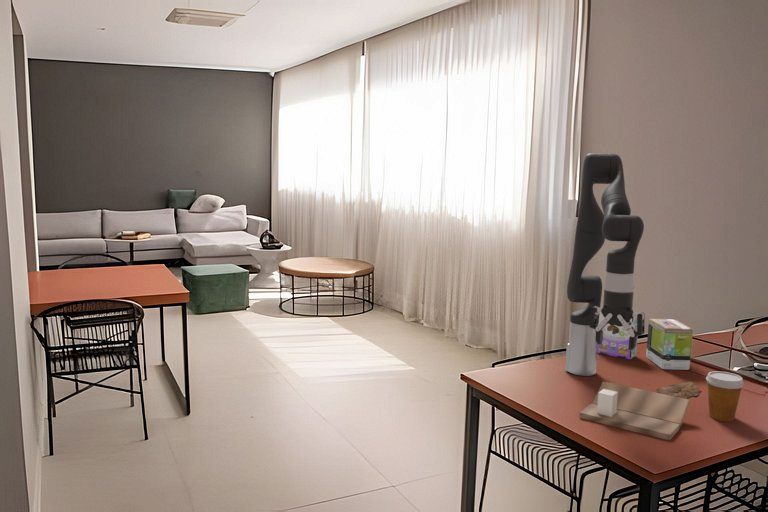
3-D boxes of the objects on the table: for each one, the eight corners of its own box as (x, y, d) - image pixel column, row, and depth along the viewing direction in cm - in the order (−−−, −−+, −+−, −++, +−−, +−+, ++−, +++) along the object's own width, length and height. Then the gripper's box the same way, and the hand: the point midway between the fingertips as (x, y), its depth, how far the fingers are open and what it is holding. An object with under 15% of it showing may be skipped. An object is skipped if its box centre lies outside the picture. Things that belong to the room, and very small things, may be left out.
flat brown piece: (678, 408, 195) (678, 404, 195) (641, 398, 203) (642, 395, 203) (712, 388, 212) (713, 385, 212) (678, 380, 220) (678, 377, 220)
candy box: (637, 356, 245) (640, 312, 242) (630, 360, 240) (633, 315, 238) (601, 349, 254) (603, 306, 251) (594, 352, 250) (596, 309, 247)
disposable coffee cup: (739, 426, 181) (743, 384, 179) (700, 419, 186) (704, 377, 184) (741, 415, 189) (745, 374, 187) (705, 408, 194) (708, 368, 192)
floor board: (579, 418, 186) (579, 412, 186) (592, 407, 194) (592, 402, 193) (669, 440, 171) (670, 434, 171) (680, 428, 179) (680, 423, 179)
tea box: (690, 370, 229) (694, 328, 227) (661, 370, 230) (664, 328, 227) (672, 357, 244) (675, 318, 242) (645, 357, 244) (647, 317, 242)
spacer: (597, 413, 185) (598, 392, 184) (602, 409, 188) (603, 388, 187) (611, 416, 183) (612, 395, 182) (616, 412, 186) (617, 391, 185)
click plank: (593, 406, 194) (592, 403, 193) (603, 385, 200) (602, 381, 199) (680, 427, 180) (680, 423, 179) (689, 403, 185) (688, 399, 184)
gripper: (588, 287, 182) (584, 345, 184) (641, 294, 173) (637, 354, 176) (597, 283, 188) (594, 339, 190) (650, 290, 179) (646, 348, 182)
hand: (615, 346), depth 183 cm, fingers open, 8 cm apart
